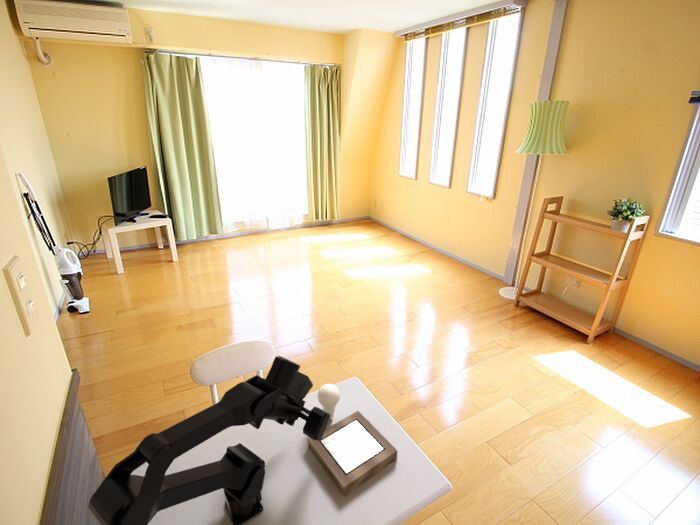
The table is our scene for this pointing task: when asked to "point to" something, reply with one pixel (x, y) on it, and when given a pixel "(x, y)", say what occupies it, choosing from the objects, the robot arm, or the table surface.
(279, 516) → the table surface
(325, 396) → the lightbulb
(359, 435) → the platform
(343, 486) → the brown picture frame
